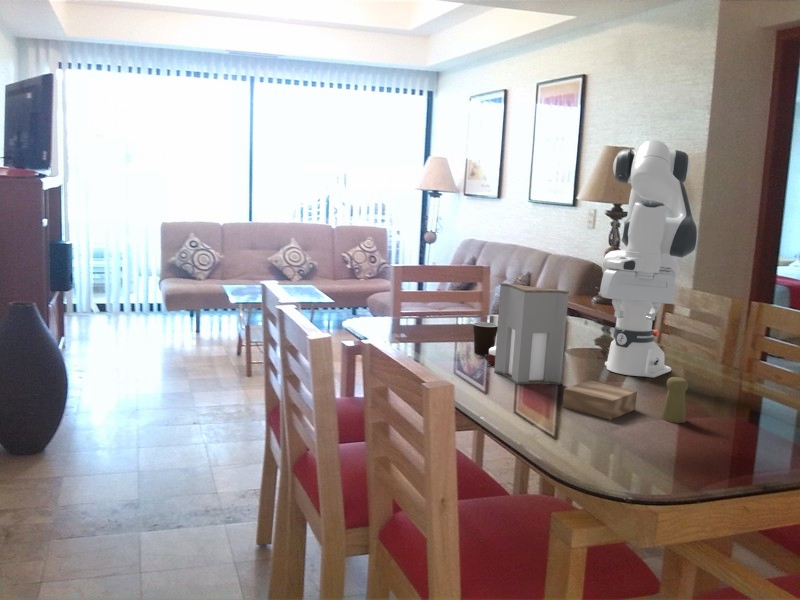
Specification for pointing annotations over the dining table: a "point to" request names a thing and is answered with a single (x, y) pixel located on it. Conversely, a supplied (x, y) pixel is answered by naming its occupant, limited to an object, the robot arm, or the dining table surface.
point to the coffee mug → (484, 337)
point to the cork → (675, 400)
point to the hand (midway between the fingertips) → (634, 318)
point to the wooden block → (599, 399)
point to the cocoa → (491, 355)
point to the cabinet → (531, 334)
